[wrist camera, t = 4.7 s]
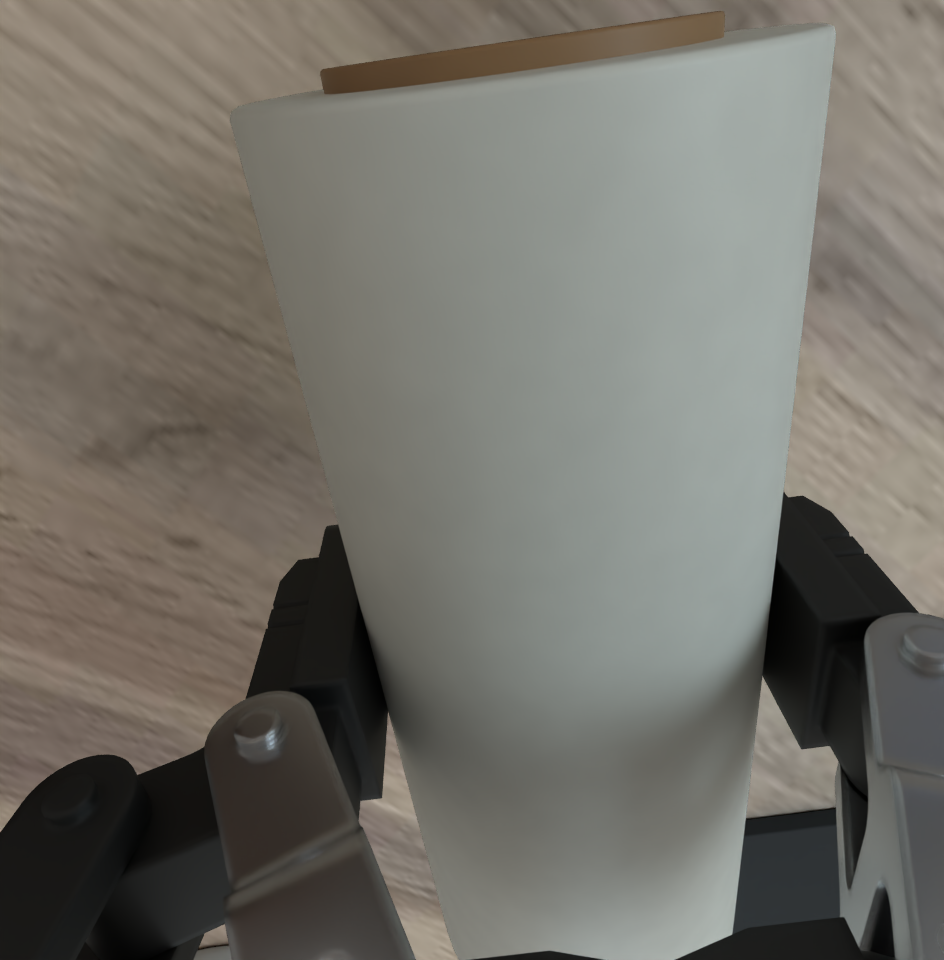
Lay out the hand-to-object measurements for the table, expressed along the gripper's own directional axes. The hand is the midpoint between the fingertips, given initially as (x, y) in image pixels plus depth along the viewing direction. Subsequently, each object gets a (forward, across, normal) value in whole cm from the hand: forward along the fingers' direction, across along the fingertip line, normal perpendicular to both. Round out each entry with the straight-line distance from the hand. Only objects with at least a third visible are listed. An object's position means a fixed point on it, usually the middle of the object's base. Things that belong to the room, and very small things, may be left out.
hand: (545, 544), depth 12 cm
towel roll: (+1, 0, 0) cm, 1 cm away
